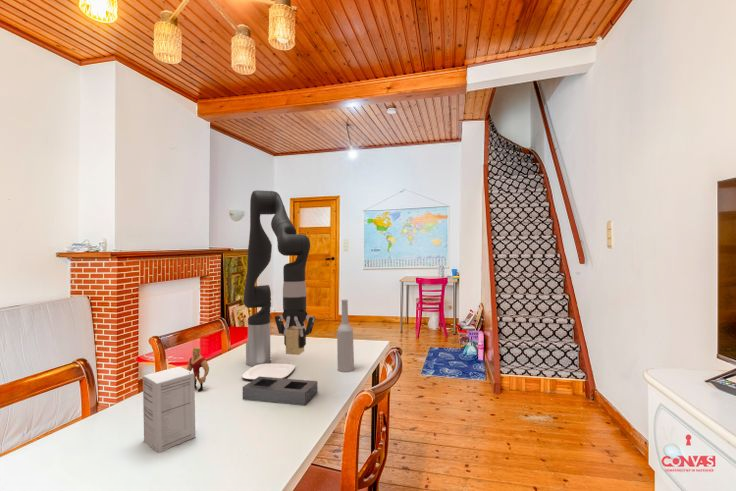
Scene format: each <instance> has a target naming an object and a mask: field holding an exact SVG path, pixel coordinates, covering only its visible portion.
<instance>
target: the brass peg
mask: <svg viewBox="0 0 736 491" xmlns="http://www.w3.org/2000/svg"><path fill="white" fill-rule="evenodd" d="M300 337H301V336H300V330H299V329H297V326H293V327H291V328H289V329H286V345H285V355H292V356H293V355H296V356H299V355H301V354H302V353H304V352H305V346H304V347H303V348H300Z"/></svg>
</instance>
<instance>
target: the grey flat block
mask: <svg viewBox="0 0 736 491" xmlns="http://www.w3.org/2000/svg"><path fill="white" fill-rule="evenodd" d="M241 388H242V400H244V401H257V402H265V403H276V404H284V405H285V404H287V405H295V406H303V407H304V406H306V405H307V404H309V402H310V401H311V400H313V399H314V397H315V396H317V395H318V391H319V390H318V380H307V379H296V378H295V379H294V378H272V377H260V376H259V377H257V378H256V379H254V380H250V382H247V384H245V385H244V386H242V387H241Z"/></svg>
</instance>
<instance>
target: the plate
mask: <svg viewBox="0 0 736 491" xmlns="http://www.w3.org/2000/svg"><path fill="white" fill-rule="evenodd" d="M295 368H296V367H295V365H294V364H291V363H269V364H259V365H256V366H251V367H250V368H248V369H247V370H246V371H245V372H244V373H243V374H242V375H241V377H242V379H245V380H247V381H249V380H250V381H253V380H254V379H256V378H257V377H259V376H260V377H272V378H284V379H286V378H287V377H288V376H290V374H291V373H292V372H293V371H294V370H295Z"/></svg>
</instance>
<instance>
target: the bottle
mask: <svg viewBox="0 0 736 491" xmlns="http://www.w3.org/2000/svg"><path fill="white" fill-rule="evenodd" d="M340 301H341V322H340V324H339V327H338V328H337V332H336V335H337V337H336V339H337V340H336V341H337V342H336V343H337V354H336V356H337V371H339V372H340V373H349V372H353V371H354V370H355V358H354V357H355V355H354V354H355V353H354V352H355V351H354V329H353V326H351V324H350V323H349V313H348V312H349V310H348V309H349V307H348V303H349V302H348V301H349V300H348V299H341V300H340Z"/></svg>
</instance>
